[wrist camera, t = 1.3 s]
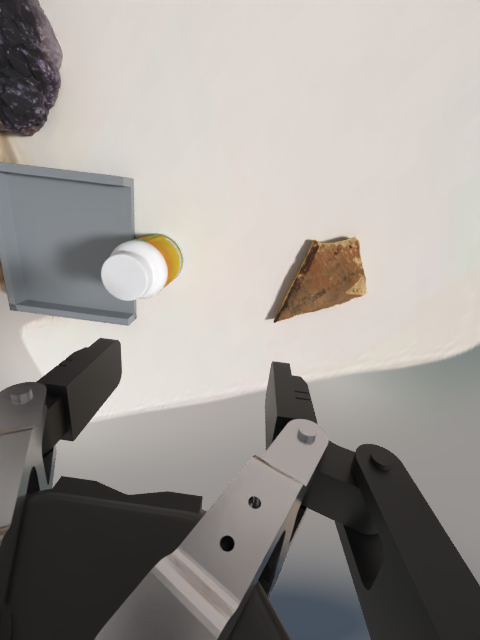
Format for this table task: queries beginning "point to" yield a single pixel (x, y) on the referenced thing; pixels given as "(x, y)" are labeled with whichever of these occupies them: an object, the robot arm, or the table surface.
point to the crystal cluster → (27, 66)
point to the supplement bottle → (142, 267)
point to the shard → (325, 279)
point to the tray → (63, 240)
